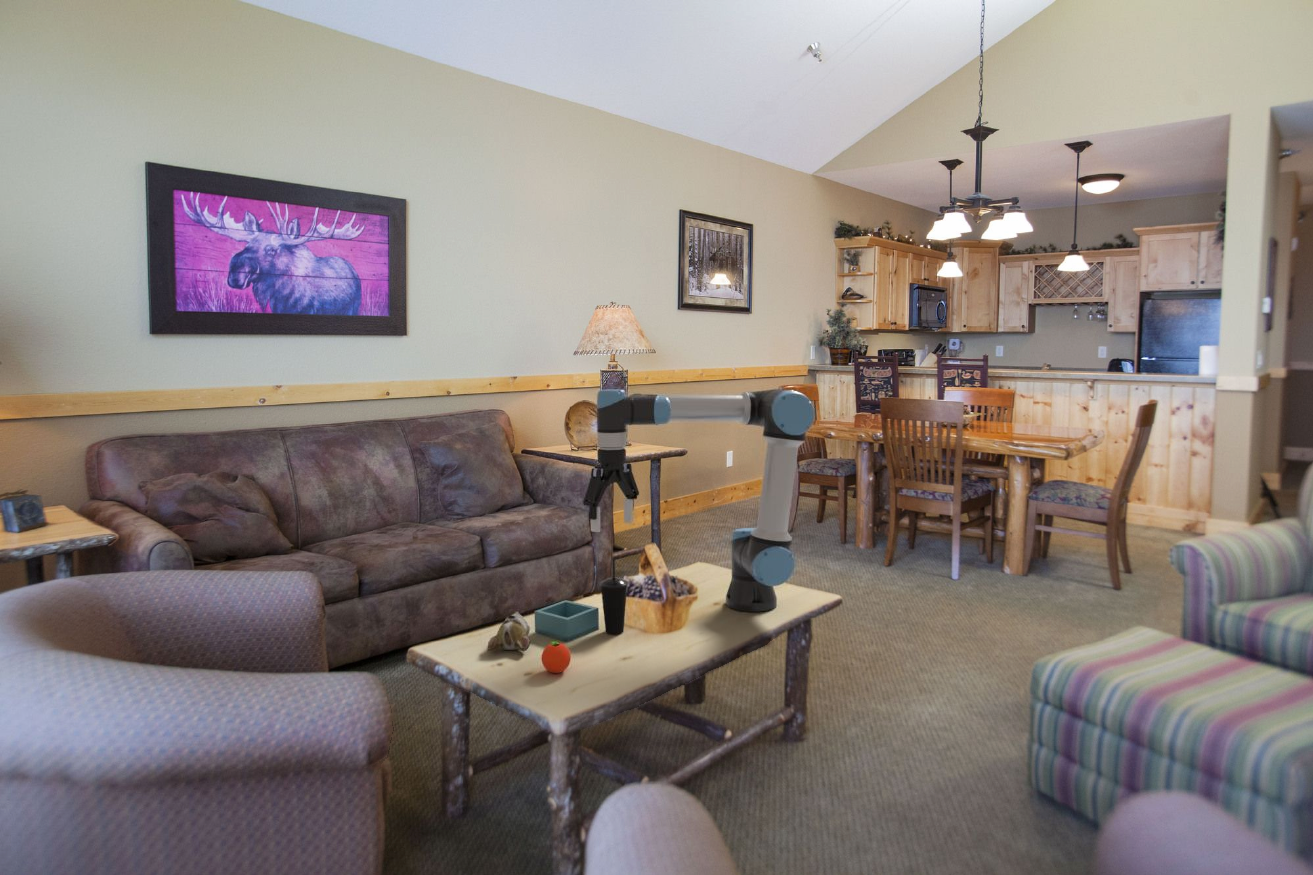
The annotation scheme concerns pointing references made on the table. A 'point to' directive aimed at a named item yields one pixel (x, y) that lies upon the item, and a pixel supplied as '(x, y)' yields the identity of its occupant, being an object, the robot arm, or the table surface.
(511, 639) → the ceramic sculpture
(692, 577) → the table surface
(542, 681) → the table surface
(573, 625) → the teal bin
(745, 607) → the robot arm
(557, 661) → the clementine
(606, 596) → the drinking cup
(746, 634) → the table surface
